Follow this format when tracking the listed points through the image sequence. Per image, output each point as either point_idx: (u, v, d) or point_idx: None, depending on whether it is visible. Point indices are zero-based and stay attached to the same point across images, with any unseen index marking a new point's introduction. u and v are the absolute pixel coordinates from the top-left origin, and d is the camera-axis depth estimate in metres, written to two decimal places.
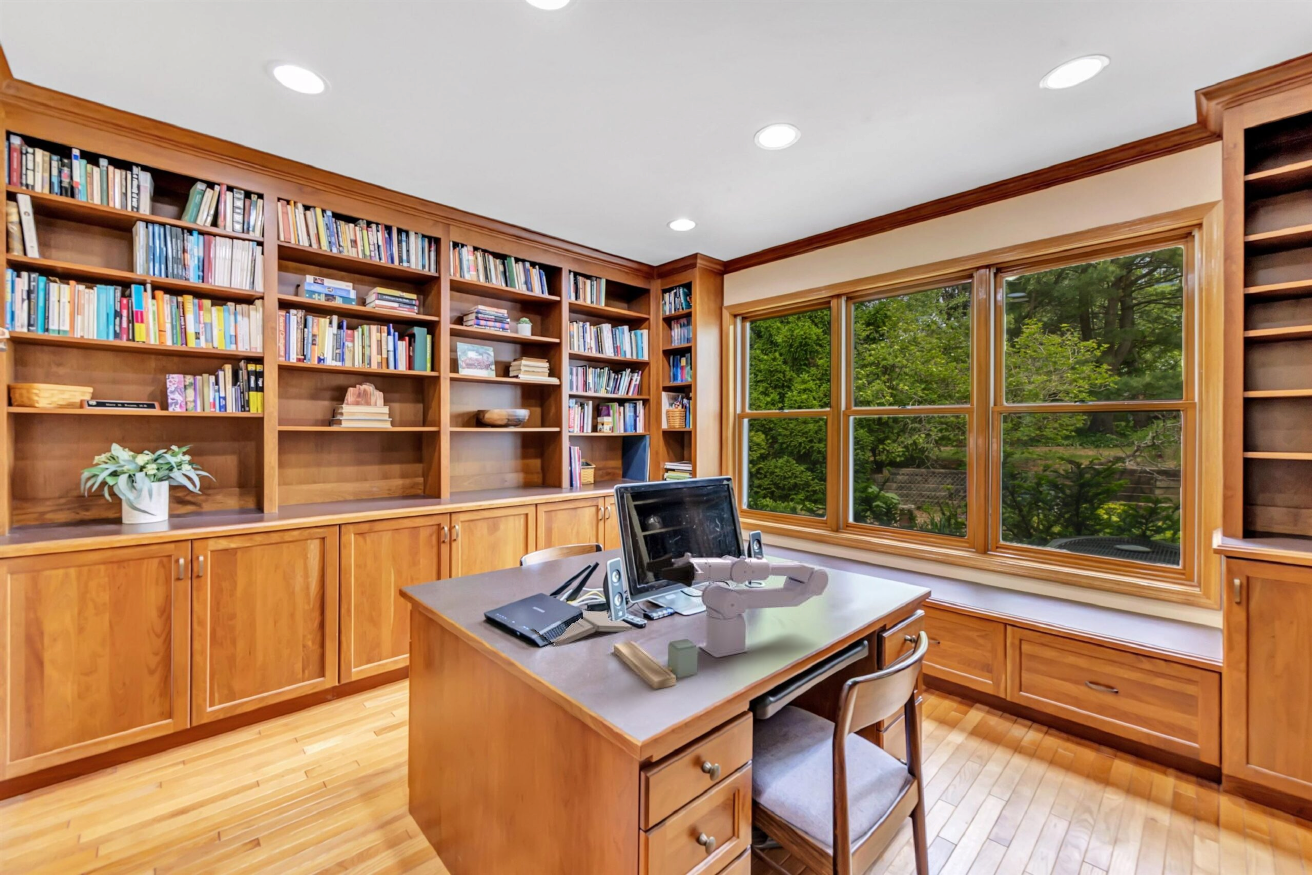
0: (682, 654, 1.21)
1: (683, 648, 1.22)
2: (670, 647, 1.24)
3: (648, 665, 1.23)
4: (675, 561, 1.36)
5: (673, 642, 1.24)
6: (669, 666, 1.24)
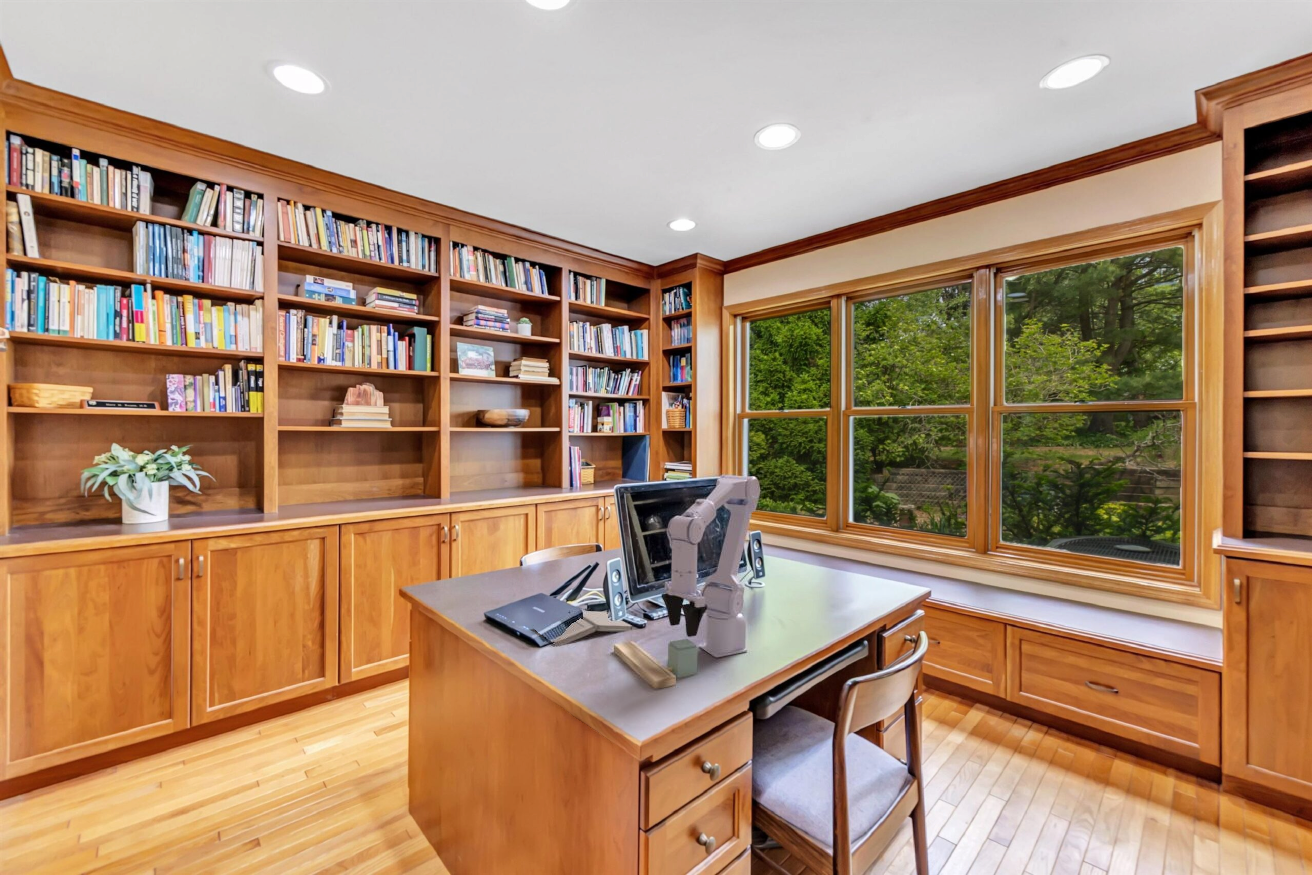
0: (682, 654, 1.21)
1: (683, 648, 1.22)
2: (670, 647, 1.24)
3: (648, 665, 1.23)
4: None
5: (673, 642, 1.24)
6: (669, 666, 1.24)
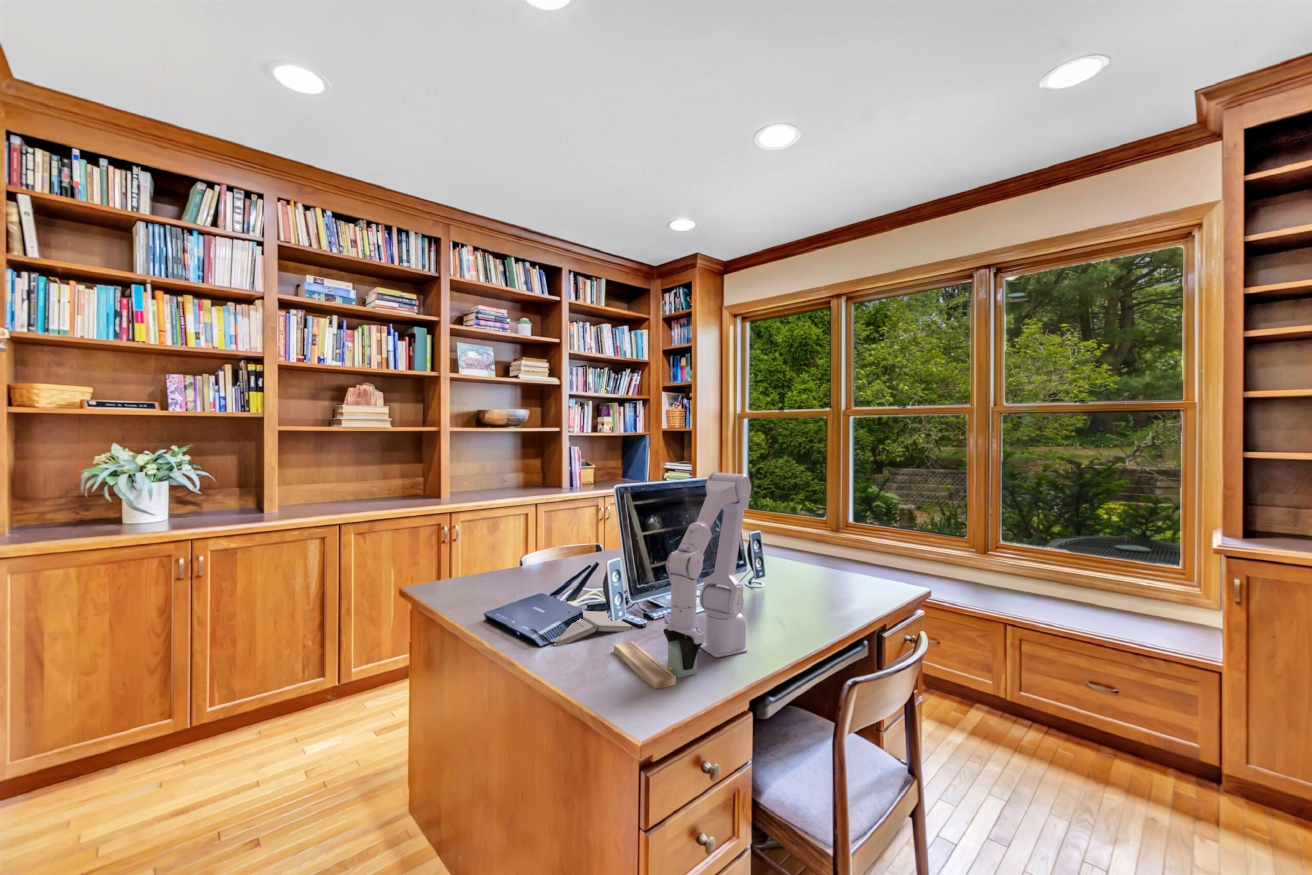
0: None
1: None
2: (670, 647, 1.24)
3: (648, 665, 1.23)
4: None
5: (673, 642, 1.24)
6: (669, 666, 1.24)
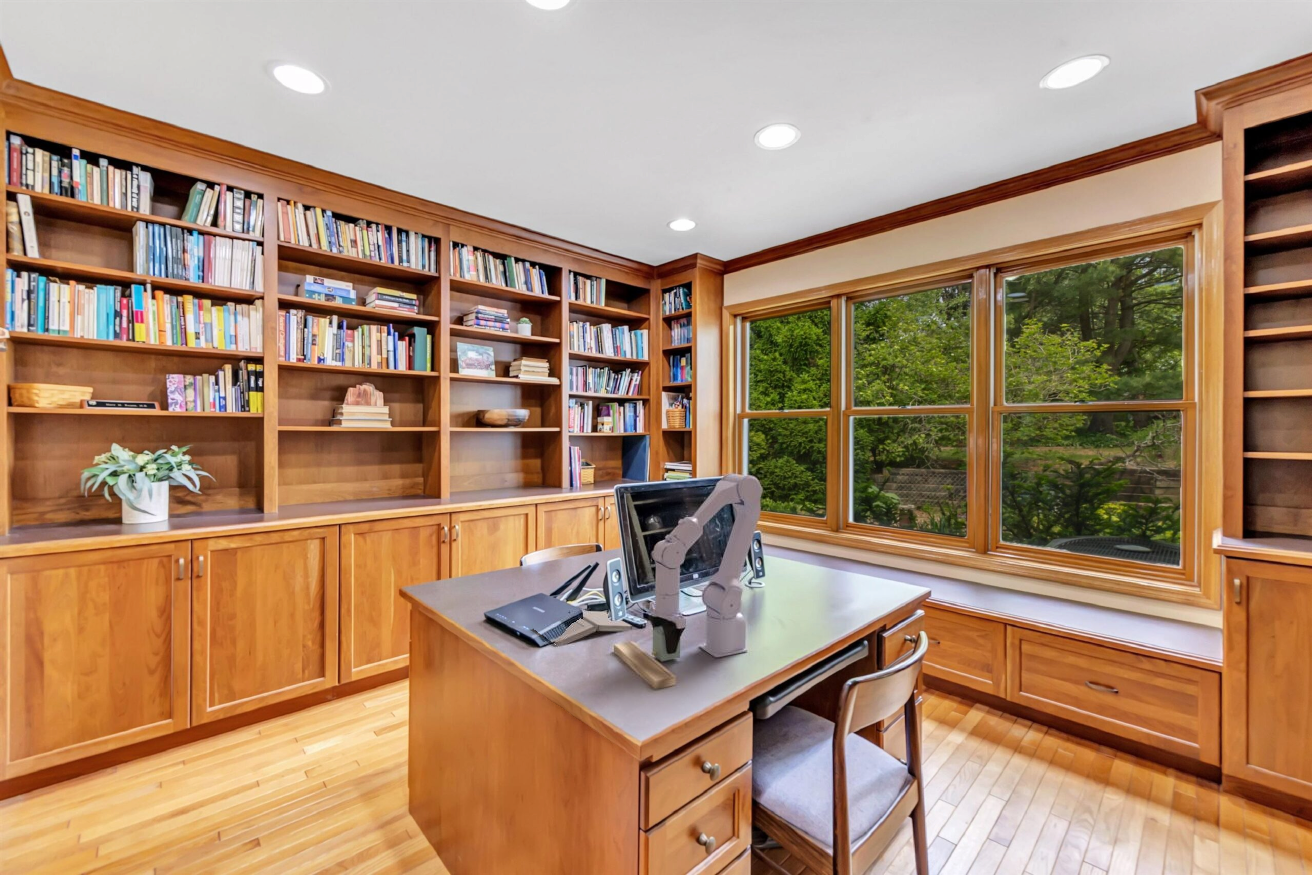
0: None
1: None
2: (654, 632, 1.31)
3: (648, 665, 1.23)
4: None
5: (657, 627, 1.31)
6: (654, 650, 1.31)
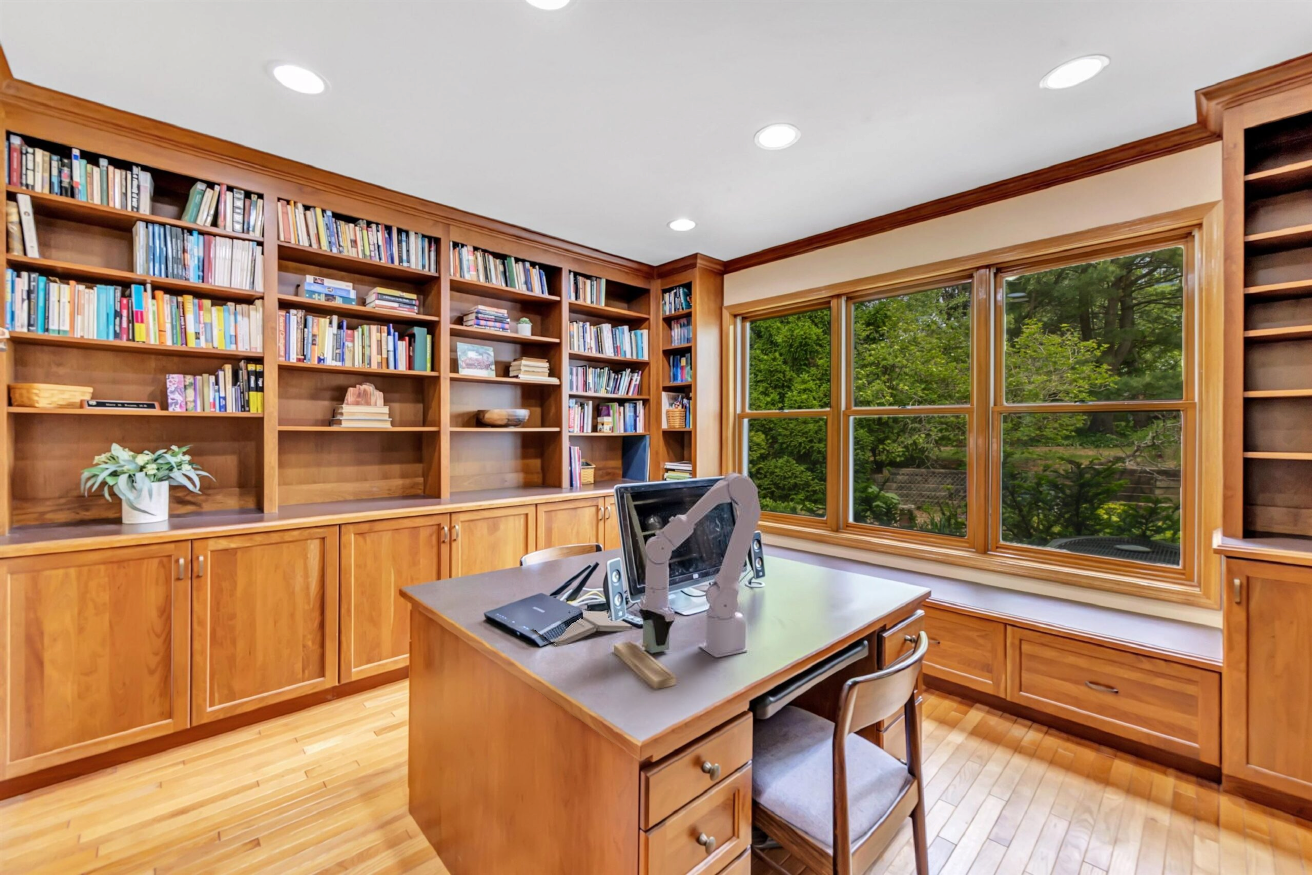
0: None
1: None
2: (645, 625, 1.35)
3: (648, 665, 1.23)
4: None
5: (647, 620, 1.36)
6: (644, 642, 1.36)
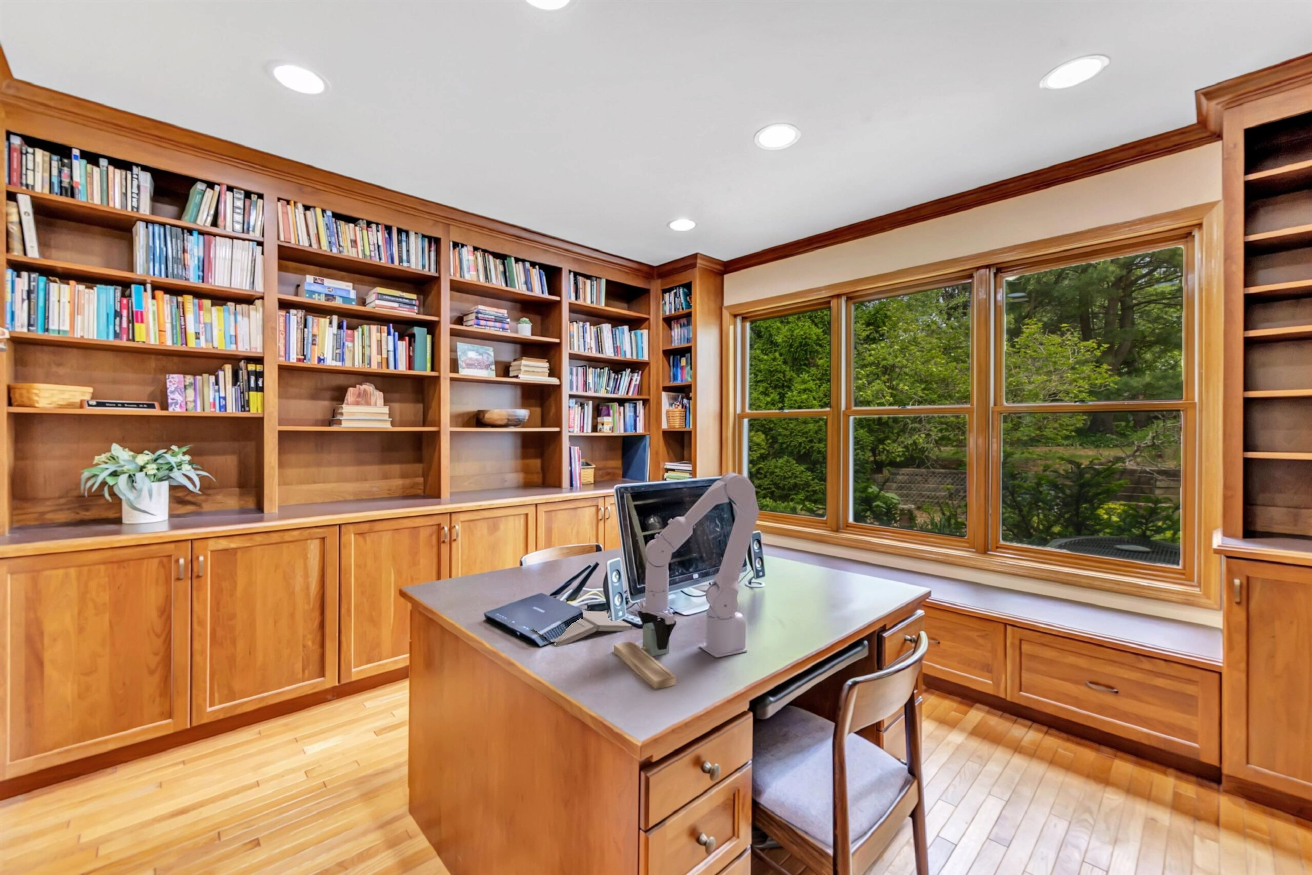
0: (655, 635, 1.33)
1: None
2: (644, 628, 1.35)
3: (648, 665, 1.23)
4: None
5: (647, 624, 1.36)
6: (644, 646, 1.36)
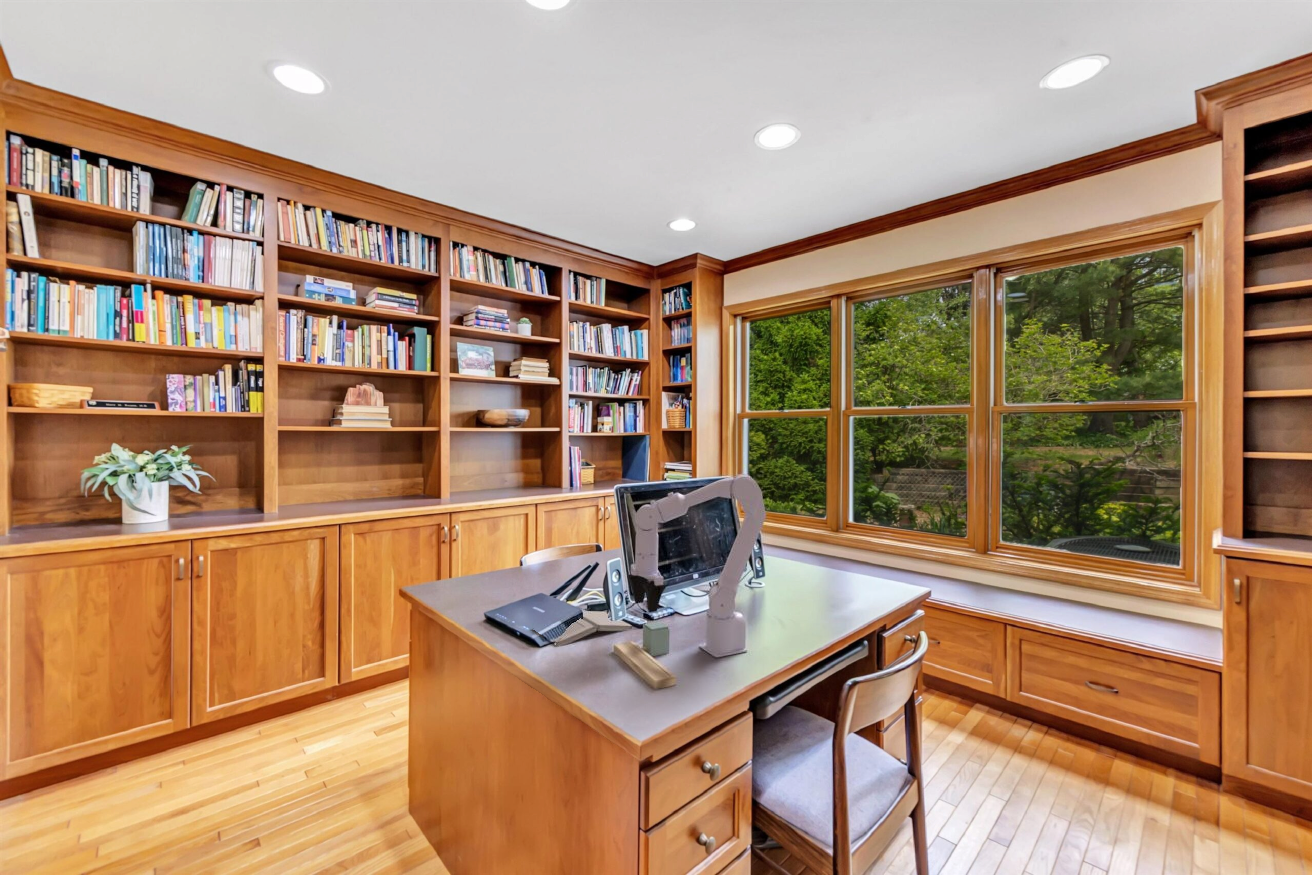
0: (655, 635, 1.33)
1: (656, 629, 1.33)
2: (644, 628, 1.35)
3: (648, 665, 1.23)
4: None
5: (647, 624, 1.36)
6: (644, 646, 1.36)
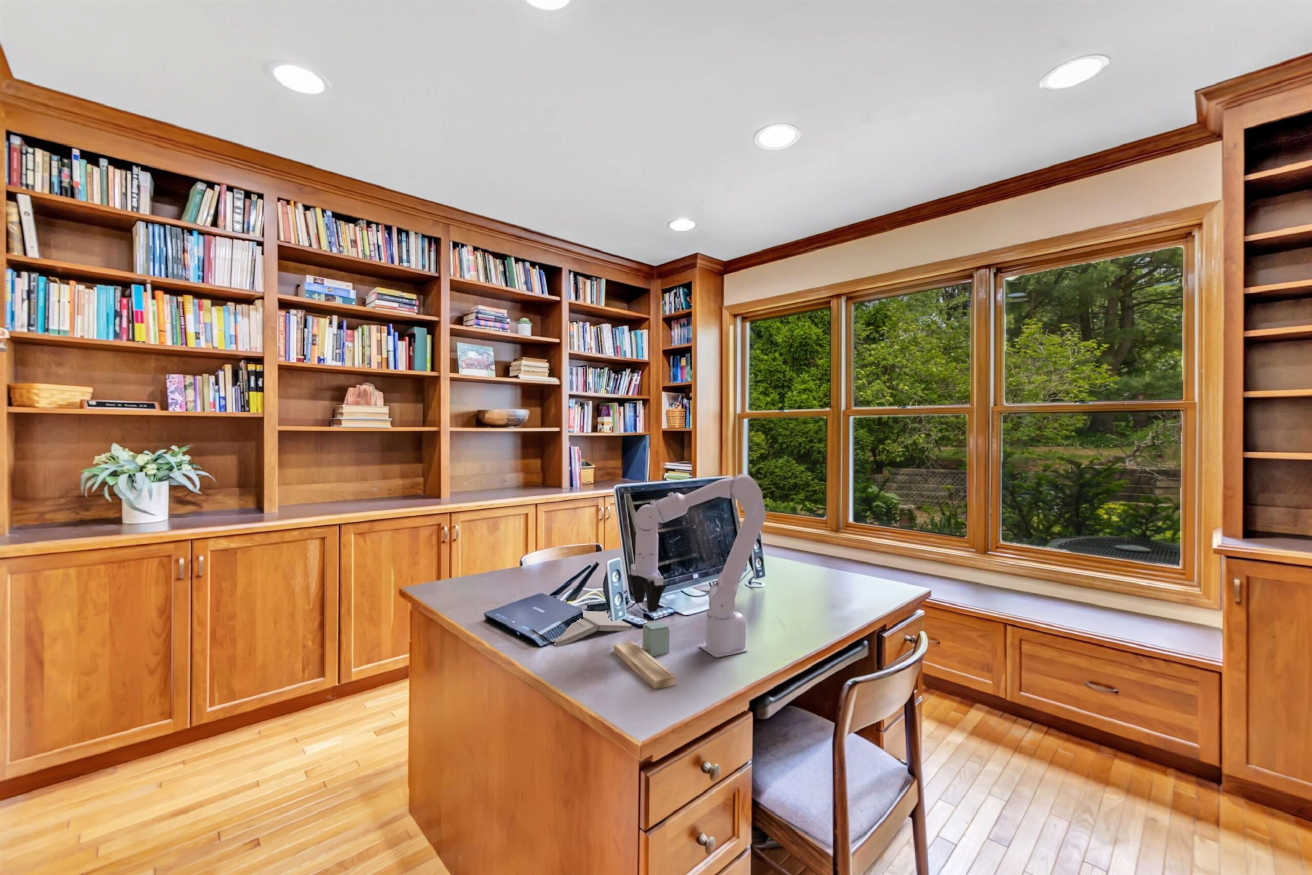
0: (655, 635, 1.33)
1: (656, 629, 1.33)
2: (644, 628, 1.35)
3: (648, 665, 1.23)
4: None
5: (647, 624, 1.36)
6: (644, 646, 1.36)
